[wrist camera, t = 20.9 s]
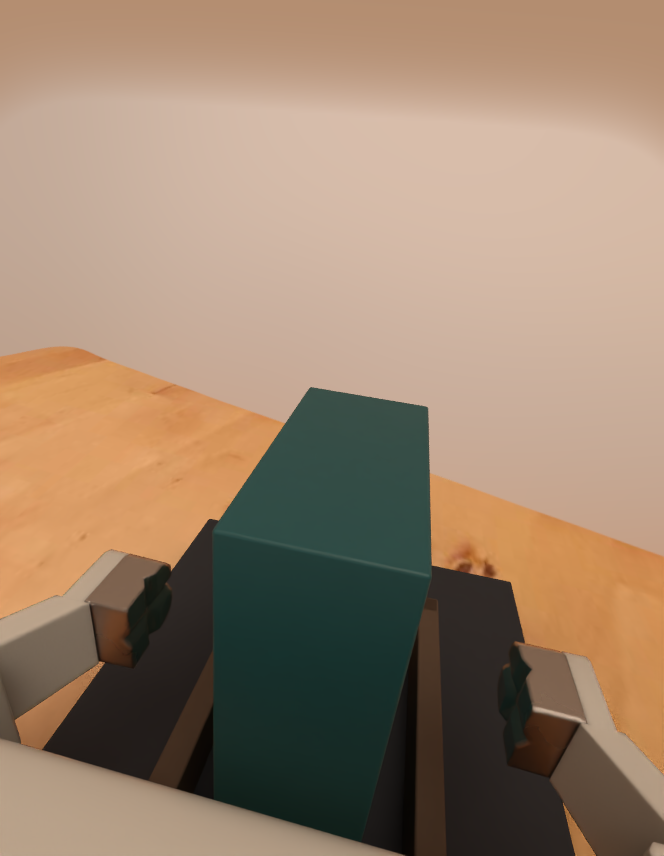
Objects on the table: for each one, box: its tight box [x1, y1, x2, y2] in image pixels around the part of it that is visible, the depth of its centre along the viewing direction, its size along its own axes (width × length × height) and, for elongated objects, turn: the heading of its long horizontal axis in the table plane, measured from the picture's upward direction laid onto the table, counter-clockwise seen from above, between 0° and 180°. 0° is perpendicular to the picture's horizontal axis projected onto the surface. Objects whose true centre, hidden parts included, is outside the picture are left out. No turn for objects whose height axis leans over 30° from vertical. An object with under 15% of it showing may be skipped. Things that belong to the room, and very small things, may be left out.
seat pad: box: [42, 519, 575, 856], centre depth 15 cm, size 16×20×4 cm
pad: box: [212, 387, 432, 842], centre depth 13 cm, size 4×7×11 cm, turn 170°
